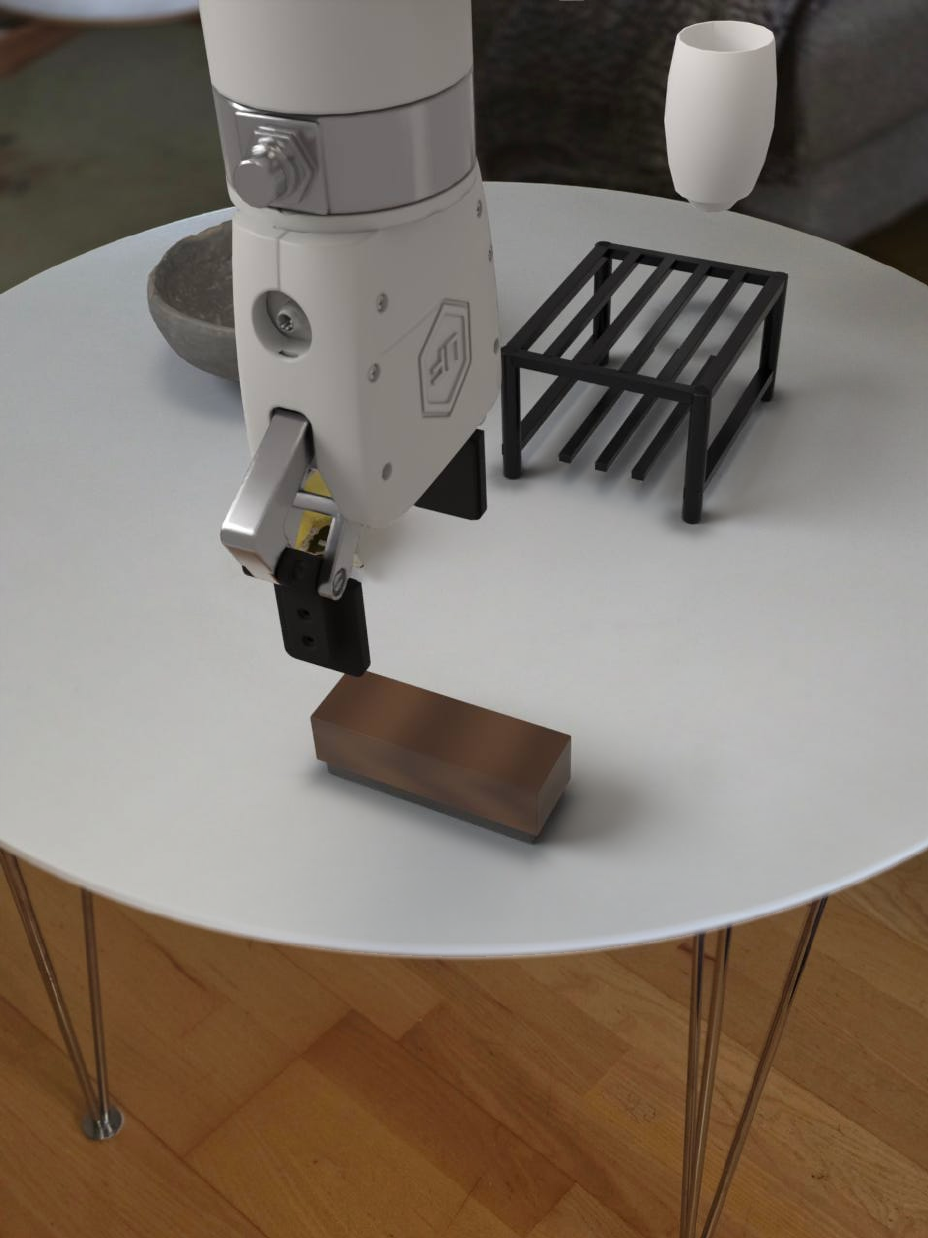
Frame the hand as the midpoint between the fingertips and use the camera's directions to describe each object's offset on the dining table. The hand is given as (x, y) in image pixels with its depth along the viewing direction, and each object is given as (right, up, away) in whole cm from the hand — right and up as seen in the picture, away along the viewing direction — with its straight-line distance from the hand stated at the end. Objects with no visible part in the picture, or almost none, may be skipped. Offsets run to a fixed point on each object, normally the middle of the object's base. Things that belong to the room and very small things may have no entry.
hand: (392, 581), depth 51 cm
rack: (+15, +11, +39) cm, 43 cm away
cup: (+20, +20, +49) cm, 57 cm away
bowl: (-10, +17, +48) cm, 52 cm away
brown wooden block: (+2, -10, +16) cm, 19 cm away
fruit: (-6, +3, +31) cm, 32 cm away
